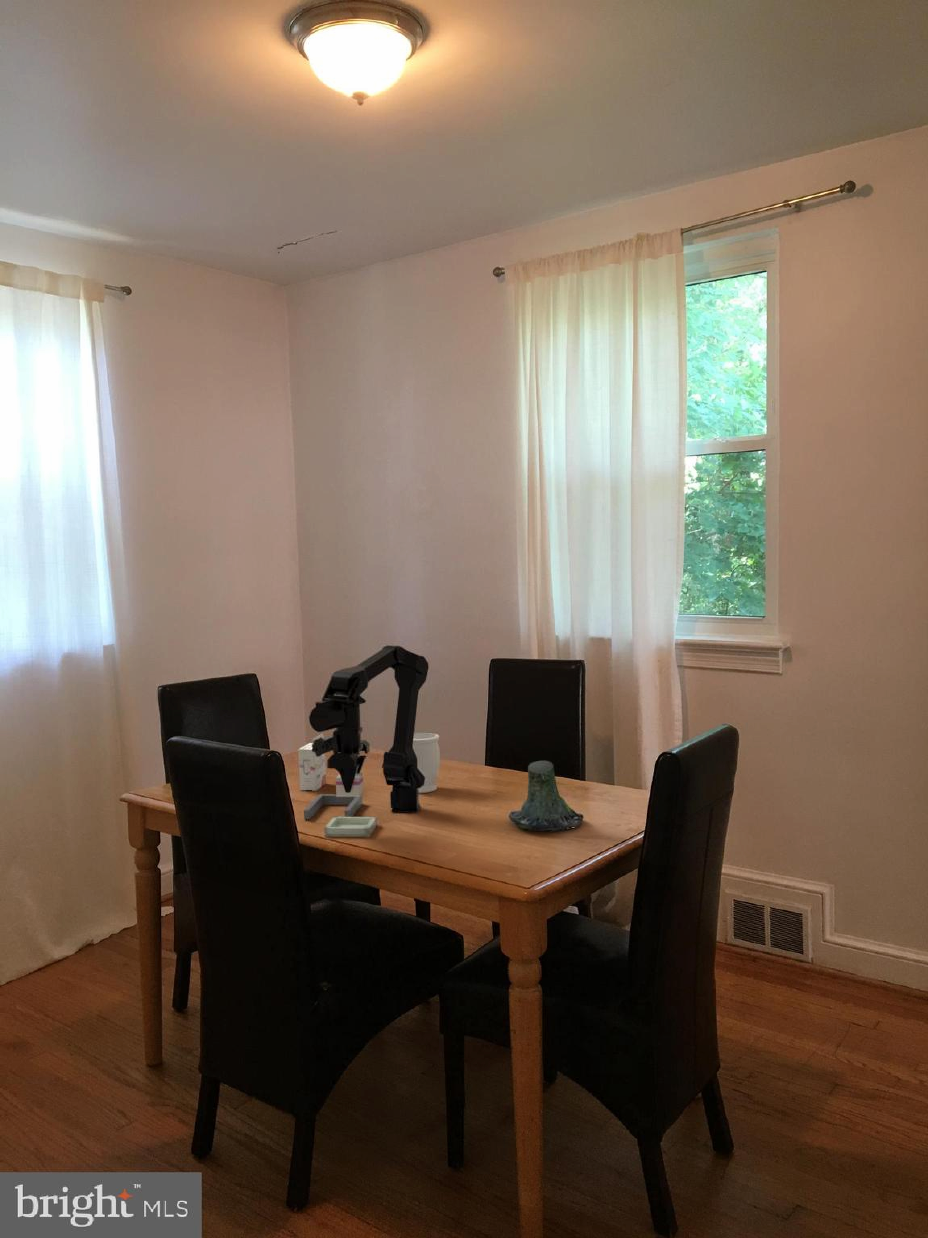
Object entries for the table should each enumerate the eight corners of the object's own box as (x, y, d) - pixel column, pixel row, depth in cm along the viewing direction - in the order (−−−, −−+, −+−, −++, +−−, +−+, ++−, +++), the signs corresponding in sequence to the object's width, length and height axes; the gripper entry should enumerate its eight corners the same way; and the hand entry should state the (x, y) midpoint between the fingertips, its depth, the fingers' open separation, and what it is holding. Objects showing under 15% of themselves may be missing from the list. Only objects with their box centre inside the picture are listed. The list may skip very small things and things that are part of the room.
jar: (398, 794, 264) (396, 739, 263) (406, 784, 274) (405, 732, 273) (436, 795, 262) (435, 740, 261) (443, 785, 272) (442, 732, 271)
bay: (362, 804, 254) (362, 794, 254) (349, 820, 239) (349, 810, 239) (319, 803, 256) (319, 794, 255) (304, 820, 241) (303, 810, 240)
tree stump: (595, 817, 240) (593, 751, 235) (570, 860, 223) (568, 790, 217) (525, 806, 248) (521, 742, 242) (496, 847, 230) (492, 779, 225)
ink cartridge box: (310, 783, 278) (308, 732, 277) (326, 783, 277) (325, 732, 276) (299, 790, 270) (297, 738, 269) (316, 791, 269) (314, 738, 268)
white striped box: (363, 791, 232) (362, 773, 232) (359, 796, 228) (358, 777, 227) (340, 791, 233) (340, 773, 232) (336, 796, 228) (335, 777, 228)
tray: (376, 825, 235) (376, 817, 235) (368, 837, 226) (368, 828, 225) (334, 824, 236) (333, 816, 236) (324, 836, 227) (324, 828, 226)
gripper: (324, 717, 239) (326, 780, 240) (304, 732, 220) (306, 800, 222) (369, 717, 238) (370, 780, 239) (352, 732, 219) (354, 800, 220)
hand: (350, 790), depth 230 cm, fingers closed on white striped box, 4 cm apart
